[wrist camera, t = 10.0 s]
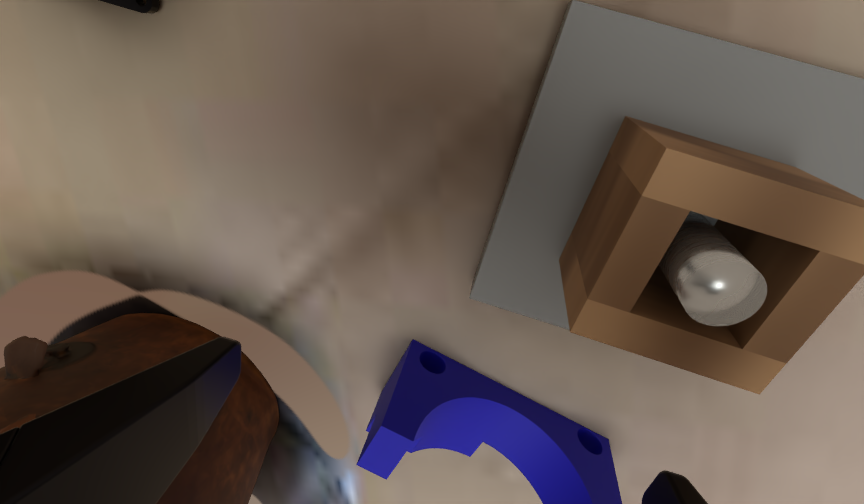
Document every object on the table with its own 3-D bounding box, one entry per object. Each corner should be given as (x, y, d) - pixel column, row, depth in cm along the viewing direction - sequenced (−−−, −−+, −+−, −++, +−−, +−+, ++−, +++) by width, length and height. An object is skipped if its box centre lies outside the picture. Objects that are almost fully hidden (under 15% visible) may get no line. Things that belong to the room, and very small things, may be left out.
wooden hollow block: (558, 259, 18) (569, 331, 14) (625, 115, 15) (666, 148, 11) (700, 305, 18) (759, 394, 13) (795, 167, 15) (910, 222, 10)
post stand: (472, 281, 21) (451, 383, 15) (568, 2, 15) (598, -21, 9) (719, 359, 20) (804, 499, 14) (915, 97, 15) (1197, 141, 8)
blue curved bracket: (382, 389, 26) (345, 482, 20) (413, 337, 23) (381, 425, 18) (561, 479, 26) (571, 592, 21) (607, 436, 24) (631, 550, 19)
